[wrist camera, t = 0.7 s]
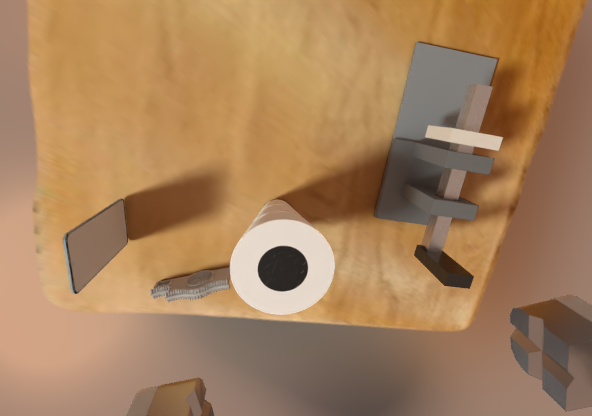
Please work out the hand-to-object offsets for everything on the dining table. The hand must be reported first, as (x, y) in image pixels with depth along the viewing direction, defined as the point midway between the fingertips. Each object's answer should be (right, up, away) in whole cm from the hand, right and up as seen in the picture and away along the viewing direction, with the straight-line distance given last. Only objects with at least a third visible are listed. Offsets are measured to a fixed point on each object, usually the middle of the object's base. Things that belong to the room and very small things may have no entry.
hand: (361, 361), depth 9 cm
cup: (-5, +3, +43) cm, 44 cm away
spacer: (+19, +14, +38) cm, 44 cm away
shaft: (+18, +8, +36) cm, 41 cm away
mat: (+19, +20, +40) cm, 49 cm away
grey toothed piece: (-18, -7, +45) cm, 49 cm away
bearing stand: (+17, +8, +44) cm, 48 cm away
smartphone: (-27, +2, +41) cm, 49 cm away
